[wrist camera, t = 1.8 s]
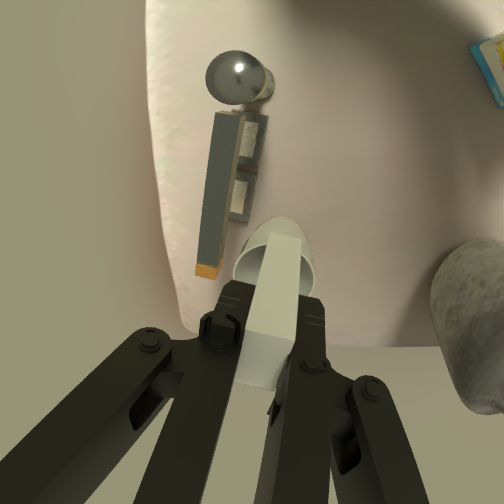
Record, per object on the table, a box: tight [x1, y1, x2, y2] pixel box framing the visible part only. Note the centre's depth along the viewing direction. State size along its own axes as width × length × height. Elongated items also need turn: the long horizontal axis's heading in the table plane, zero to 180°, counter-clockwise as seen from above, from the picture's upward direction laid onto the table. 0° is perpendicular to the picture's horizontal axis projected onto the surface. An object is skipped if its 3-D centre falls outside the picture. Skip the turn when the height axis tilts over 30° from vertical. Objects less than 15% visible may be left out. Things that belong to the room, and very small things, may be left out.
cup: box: [233, 216, 316, 297], centre depth 34 cm, size 8×8×10 cm
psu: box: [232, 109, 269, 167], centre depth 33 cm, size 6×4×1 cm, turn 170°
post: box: [256, 68, 275, 100], centre depth 26 cm, size 4×4×8 cm
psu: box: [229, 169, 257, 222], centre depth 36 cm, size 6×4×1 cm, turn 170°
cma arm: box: [195, 50, 268, 280], centre depth 25 cm, size 20×4×3 cm, turn 170°
